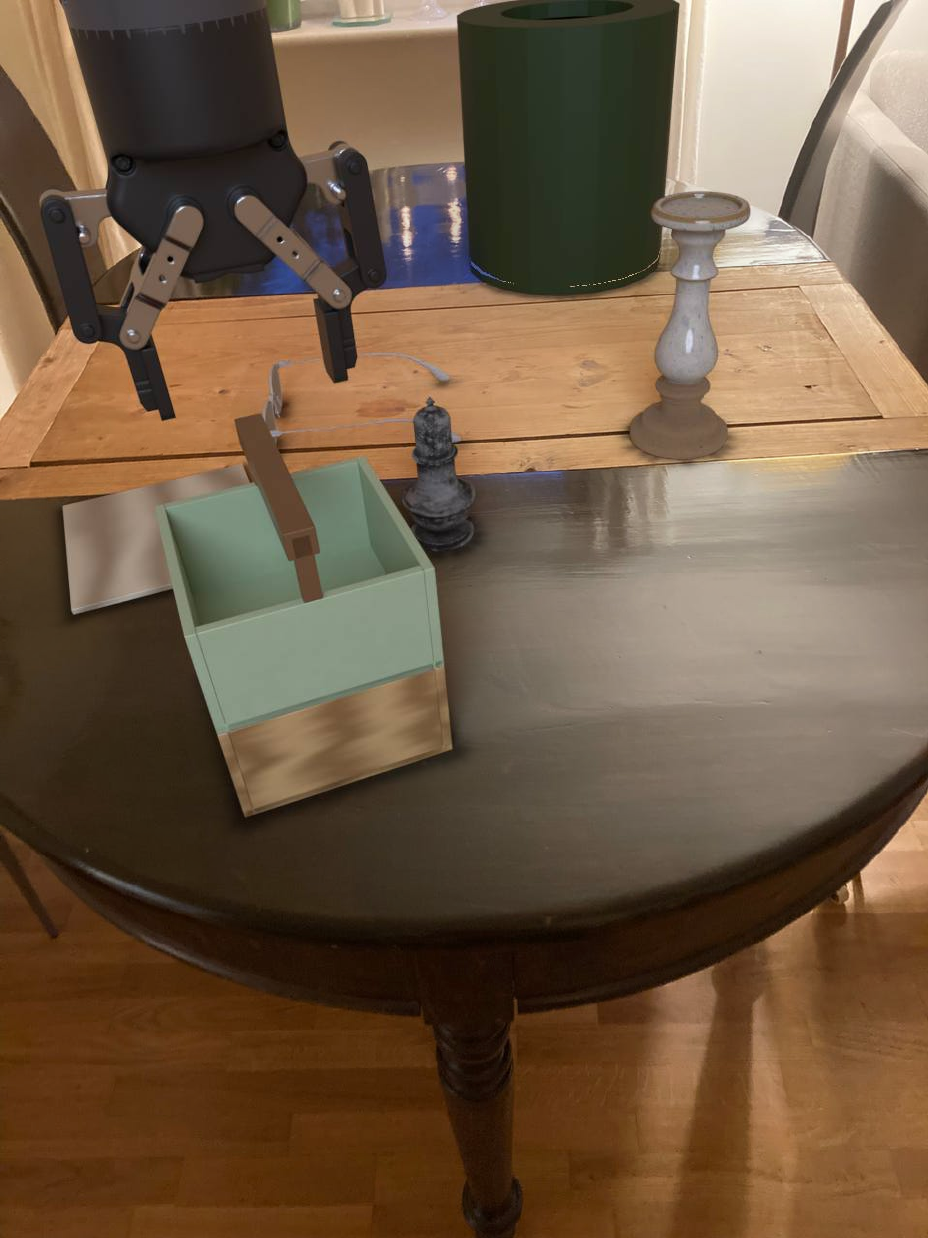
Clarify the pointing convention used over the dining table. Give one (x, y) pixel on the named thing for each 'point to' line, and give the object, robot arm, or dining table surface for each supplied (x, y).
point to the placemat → (128, 539)
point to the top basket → (297, 586)
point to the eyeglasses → (271, 424)
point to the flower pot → (566, 139)
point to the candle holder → (688, 329)
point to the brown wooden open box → (338, 741)
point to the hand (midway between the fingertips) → (254, 394)
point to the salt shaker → (437, 485)
